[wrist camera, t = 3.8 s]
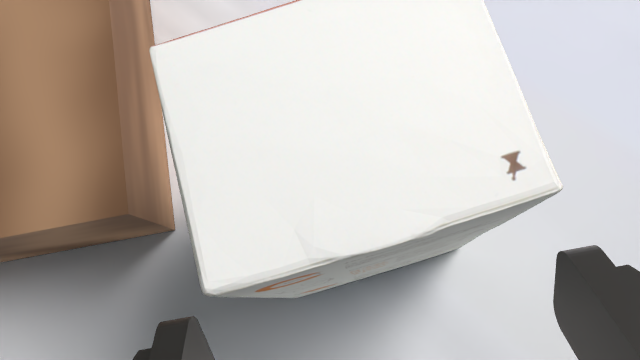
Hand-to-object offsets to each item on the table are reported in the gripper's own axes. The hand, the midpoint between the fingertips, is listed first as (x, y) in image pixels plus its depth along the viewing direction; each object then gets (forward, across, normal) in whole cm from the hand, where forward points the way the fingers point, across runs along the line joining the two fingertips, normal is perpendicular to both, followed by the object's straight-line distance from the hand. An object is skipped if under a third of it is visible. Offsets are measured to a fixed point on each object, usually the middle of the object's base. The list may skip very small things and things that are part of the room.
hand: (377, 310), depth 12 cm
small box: (+12, 0, +6) cm, 13 cm away
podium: (+16, +15, 0) cm, 22 cm away
